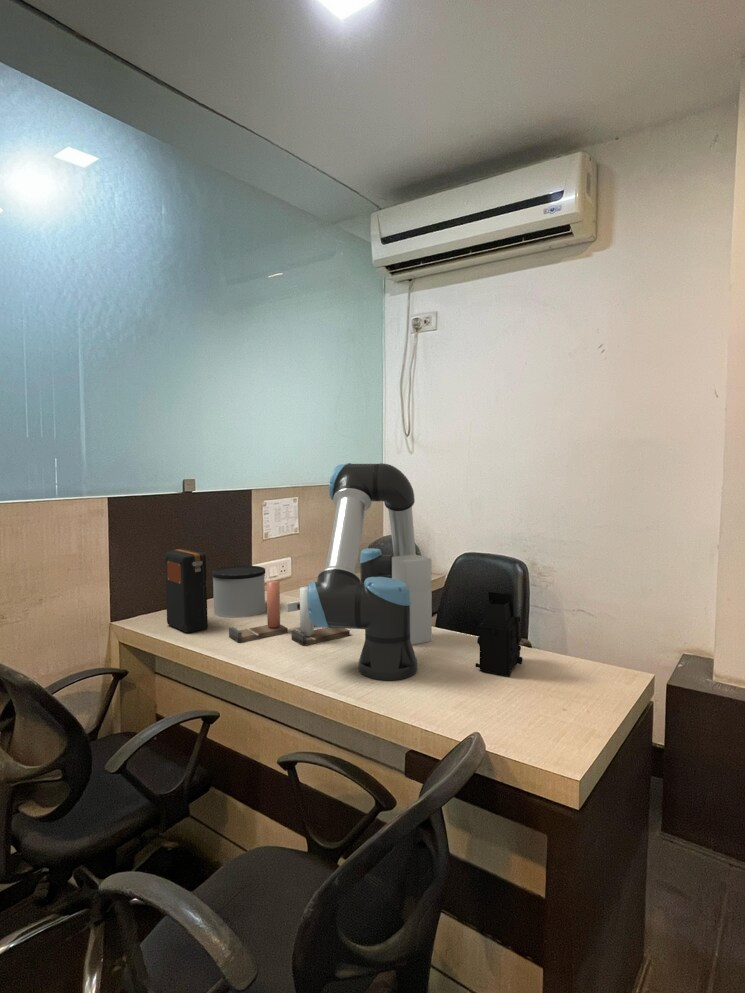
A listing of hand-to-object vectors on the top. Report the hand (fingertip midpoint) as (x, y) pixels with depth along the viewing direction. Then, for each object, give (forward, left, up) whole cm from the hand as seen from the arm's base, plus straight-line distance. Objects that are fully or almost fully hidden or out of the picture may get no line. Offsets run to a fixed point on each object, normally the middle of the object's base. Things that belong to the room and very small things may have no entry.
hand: (287, 607), depth 178 cm
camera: (-25, -66, -7) cm, 71 cm away
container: (+19, +24, -7) cm, 32 cm away
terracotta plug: (-4, +3, -5) cm, 7 cm away
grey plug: (-11, -10, -5) cm, 15 cm away
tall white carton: (-6, -41, -7) cm, 42 cm away
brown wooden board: (-7, -13, -7) cm, 16 cm away
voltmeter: (-3, +33, -7) cm, 34 cm away
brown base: (-7, +7, -7) cm, 12 cm away
